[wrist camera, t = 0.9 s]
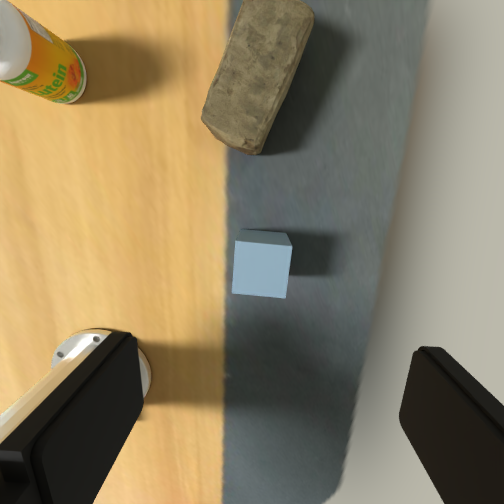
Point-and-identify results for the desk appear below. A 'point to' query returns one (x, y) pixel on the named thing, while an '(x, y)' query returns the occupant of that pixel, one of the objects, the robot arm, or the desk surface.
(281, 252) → the slate cube
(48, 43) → the supplement bottle
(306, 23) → the stone block
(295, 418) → the desk surface
